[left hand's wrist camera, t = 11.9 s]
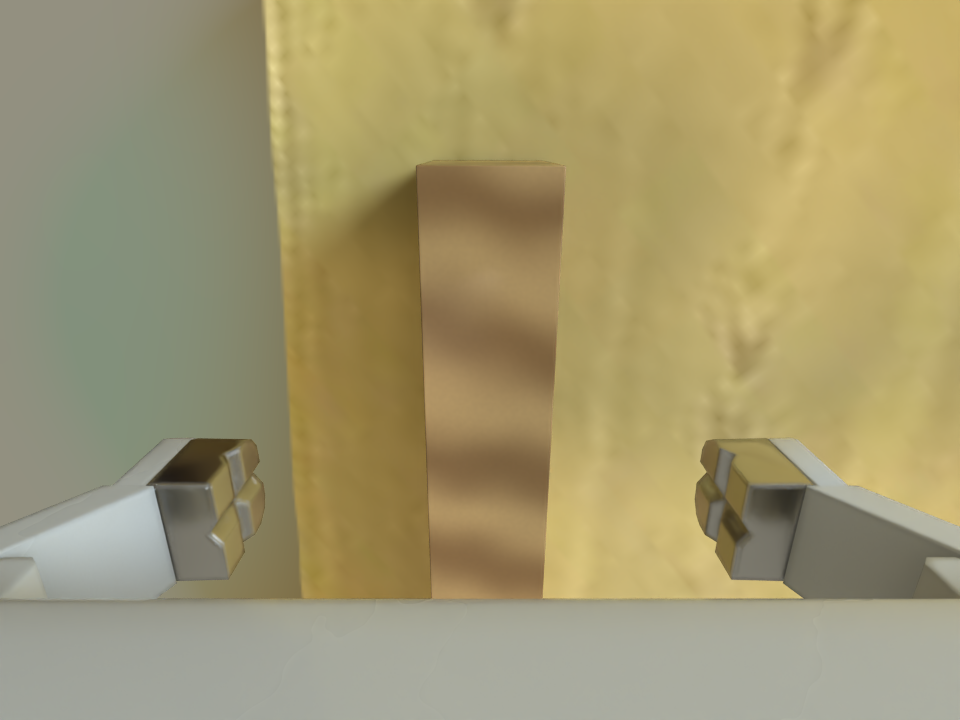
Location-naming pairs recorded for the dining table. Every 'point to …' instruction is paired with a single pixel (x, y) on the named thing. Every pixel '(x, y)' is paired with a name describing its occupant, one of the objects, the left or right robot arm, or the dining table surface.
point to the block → (489, 369)
